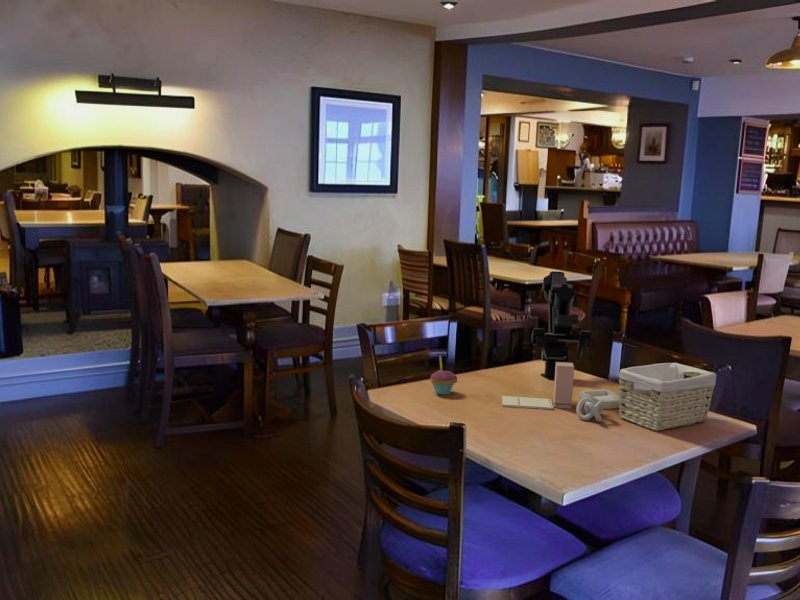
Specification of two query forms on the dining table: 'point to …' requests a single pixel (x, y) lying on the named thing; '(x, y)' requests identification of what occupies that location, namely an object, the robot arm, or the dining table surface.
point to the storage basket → (665, 395)
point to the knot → (589, 406)
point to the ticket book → (526, 402)
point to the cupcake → (443, 380)
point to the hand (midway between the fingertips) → (562, 360)
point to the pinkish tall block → (563, 385)
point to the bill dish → (602, 397)
